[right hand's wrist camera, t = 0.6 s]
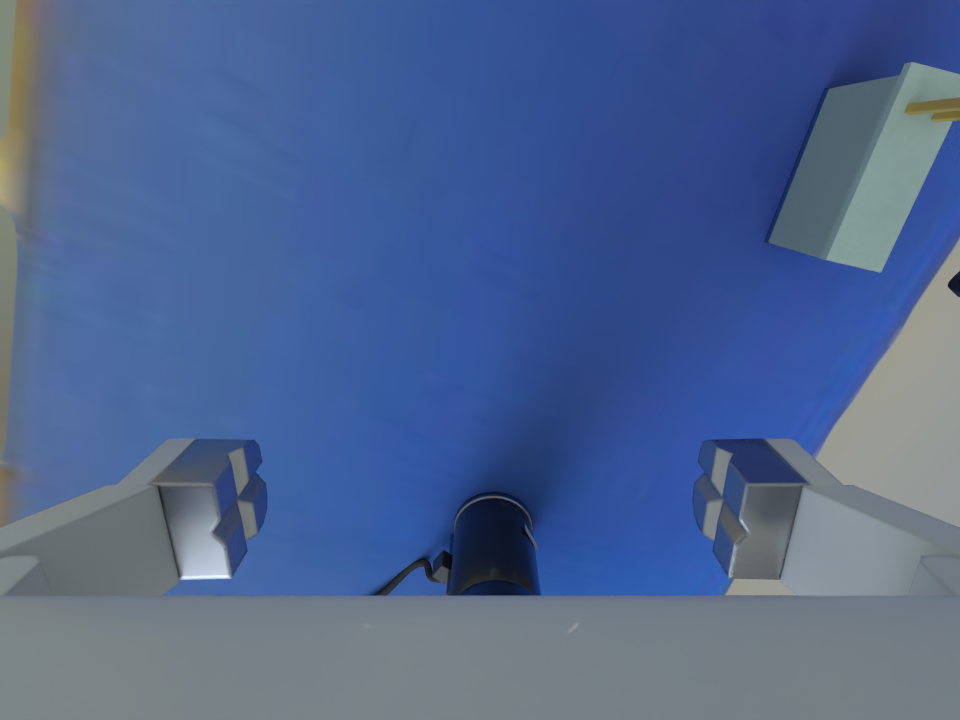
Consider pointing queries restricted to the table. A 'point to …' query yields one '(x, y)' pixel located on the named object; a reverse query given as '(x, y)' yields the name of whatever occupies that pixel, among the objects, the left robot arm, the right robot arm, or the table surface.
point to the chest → (828, 164)
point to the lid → (895, 166)
